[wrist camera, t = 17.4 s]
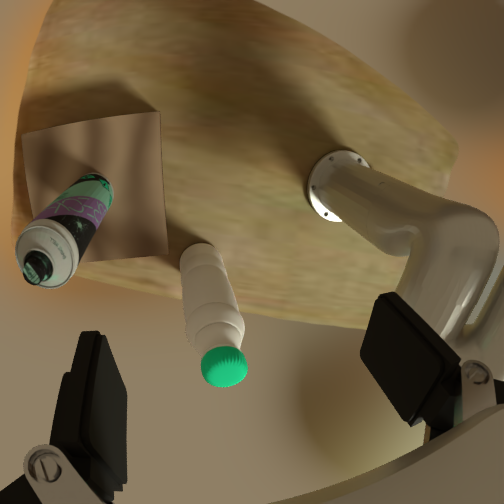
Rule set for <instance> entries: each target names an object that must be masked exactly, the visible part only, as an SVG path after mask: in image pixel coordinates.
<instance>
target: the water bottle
mask: <svg viewBox="0 0 504 504" xmlns="http://www.w3.org/2000/svg"><path fill="white" fill-rule="evenodd" d="M180 272H181V284H182V297H183V309H184V315H185V321H186V336H187V339H188V341H189V343H190V344H191V346H192V347H193V348H194V349H195V350H196V351H197V352H198V353H199V354H200V355H201V356H202V358H201V371H202V375H203V377H204V379H205V380H206V381H207V382H208V383H209V384H211V385H213V386H216V387H228V386H232V385H234V384H237V383H239V382H240V381H242V379H243V378H244V377H245V376H246V373H247V370H248V367H247V362H246V359H245V357H244V355H243V353H242V351H241V350H240V346H241V341H242V339H243V336H244V331H245V325H244V321H243V318H242V316H241V314H240V313H239V309H238V305H237V302H236V298H235V295H234V292H233V290H232V287H231V285H230V282H229V280H228V277H227V272H226V269H225V267H224V264H223V260H222V257H221V254H220V253H219V251H218V250H217V249H216V248H215V247H213V246H212V245H209V244H205V243H198V244H194V245H192V246H190V247H188V248H187V249H186V250H185V251H184V252H183V254H182V255H181V258H180Z"/></svg>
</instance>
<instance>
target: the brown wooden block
mask: <svg viewBox="0 0 504 504" xmlns="http://www.w3.org/2000/svg"><path fill="white" fill-rule="evenodd" d="M21 138H22V149H23V158H24V166H25V174H26V181H27V187H28V193H29V199H30V204H31V209H32V214H33V219H34V218H35V217H37V216H38V215H39V214H40V213H41V212H42V211H43V210H44V209H45V208H46V207H47V206H48V205H49V204H51V203H52V202H53V201H54V200H55V199H56V198H57V197H58V196H59V195H61V194H62V193H63V192H64V191H65V190H66V189H68V188H69V187H70V186H71V185H72V184H73V183H75V182H76V181H77V180H78V179H80V178H81V177H82V176H84V175H86V174H88V173H99V174H102V175H104V176H105V177H106V178H108V180H109V181H110V182H111V184H112V186H113V190H114V198H113V201H112V204H111V206H110V208H109V209H108V211H107V213H106V214H105V216H104V218H103V220H102V221H101V223H100V225H99V227H98V228H97V230H96V232H95V234H94V236H93V238H92V239H91V241H90V243H89V245H88V247H87V249H86V251H85V253H84V255H83V257H82V258H81V260H80V262H79V263H83V262H94V261H104V260H114V259H125V258H136V257H146V256H157V255H168V254H169V248H168V238H167V224H166V213H165V200H164V186H163V170H162V150H161V120H160V111H158V112H147V113H137V114H128V115H120V116H113V117H106V118H99V119H93V120H87V121H81V122H76V123H70V124H65V125H60V126H55V127H51V128H46V129H42V130H38V131H34V132H30V133H26V134H22V135H21Z"/></svg>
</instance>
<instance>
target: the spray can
mask: <svg viewBox="0 0 504 504" xmlns="http://www.w3.org/2000/svg"><path fill="white" fill-rule="evenodd" d="M113 198H114V190H113V186H112V184H111V182H110V181H109V180H108V178H106V177H105V176H104V175H102V174H99V173H88V174H86V175H84V176H82V177H81V178H80V179H78V180H77V181H76V182H75V183H73V184H72V185H71V186H70V187H69V188H68V189H66V190H65V191H64V192H63V193H62V194H61V195H59V196H58V197H57V198H56V199H55V200H54V201H53V202H52V203H51V204H49V205H48V206H47V207H46V208H45V209H44V210H43V211H42V212H41V213H40V214H39V215H38V216H37V217H35V218H34V219H33V220H32V221H31V222H30V223H29V224H28V225H27V226H26V227H25V228H24V230H23V231H22V233H21V235H20V236H19V237H18V240H17V242H16V247H15V256H16V260H17V264H18V266H19V268H20V270H21V272H22V273H23V276H24V278H25V280H26V281H27V282H28V283H30V284H32V285H37V286H39V287H42V288H46V289H54V288H58V287H61V286H63V285H64V284H66V283H67V281H68V280H69V279H70V278H71V277H72V276H73V274H74V272H75V270H76V268H77V266H78V264H79V262H80V260H81V258H82V257H83V255H84V253H85V251H86V249H87V247H88V245H89V243H90V241H91V239H92V238H93V236H94V234H95V232H96V230H97V228H98V227H99V225H100V223H101V221H102V220H103V218H104V216H105V214H106V213H107V211H108V209H109V208H110V206H111V204H112V201H113Z"/></svg>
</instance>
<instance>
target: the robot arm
mask: <svg viewBox="0 0 504 504" xmlns="http://www.w3.org/2000/svg"><path fill="white" fill-rule="evenodd" d="M329 158H330V159H329ZM312 186H313V187H312ZM307 193H308V198H309V202H310V204H311V206H312V208H313V209H314V210H315V212H316V213H318V214H319V215H320V216H321V217H323V218H324V219H327V220H329V221H334V222H340V221H343V222H344V223H346V224H347V225H348V226H350V227H351V228H352V229H354V230H355V231H356V232H358V233H359V234H360V235H361V236H363V237H364V238H365V239H366V240H368V241H369V242H370V243H372V244H373V245H374V246H376V247H377V248H378V249H379V250H381V251H382V252H384V253H386V254H388V255H391V256H397V257H402V256H409V258H408V261H407V263H406V266H405V270H404V272H403V274H402V277H401V279H400V281H399V284H398V286H397V288H396V290H395V292H388V293H384V294H380V295H379V296H378V299H376V300H375V303H374V307H373V310H372V314H371V317H370V321H369V324H368V327H367V331H366V334H365V337H364V340H363V343H362V347H361V350H360V357H361V359H362V361H363V363H364V364H365V365H366V367H367V368H368V370H369V371H370V373H371V374H372V375H373V377H374V378H375V380H376V381H377V383H378V384H379V386H380V387H381V389H382V390H383V392H384V393H385V394H386V396H387V397H388V399H389V400H390V402H391V403H392V405H393V406H394V408H395V409H396V411H397V412H398V413H399V415H400V417H401V418H402V419H403V421H406V422H408V424H409V425H410V427H412V426H414V425H416V424H418V423H420V422H422V420H424V421H425V422H426V426H425V434H424V442H423V446H420V447H419V448H417V449H415V450H413V451H411V452H409V453H407V454H405V455H403V456H401V457H399V458H397V459H395V460H393V461H391V462H389V463H386V464H384V465H382V466H380V467H378V468H375V469H373V470H371V471H368V472H366V473H363V474H361V475H359V476H356V477H353V478H351V479H348V480H346V481H343V482H340V483H338V484H335V485H332V486H329V487H326V488H323V489H320V490H317V491H313V492H310V493H307V494H303V495H300V496H296V497H293V498H289V499H285V500H281V501H277V502H273V503H269V504H504V266H503V268H502V270H501V272H500V274H499V276H498V278H497V280H496V282H495V284H494V286H493V288H492V290H491V292H490V294H489V296H488V298H487V300H486V302H485V303H484V305H483V307H482V309H481V311H480V313H479V315H478V316H477V318H476V320H475V322H474V323H473V324H465V323H466V322H467V320H468V318H469V316H470V314H471V313H472V311H473V309H474V307H475V305H476V304H477V302H478V300H479V298H480V296H481V294H482V292H483V290H484V288H485V286H486V284H487V282H488V280H489V277H490V275H491V273H492V271H493V268H494V265H495V263H496V259H497V255H498V251H499V233H498V229H497V226H496V225H495V223H494V221H493V220H492V219H491V218H490V217H489V216H488V215H487V214H486V213H484V212H482V211H480V210H479V209H477V208H474V207H472V206H469V205H466V204H463V203H459V202H456V201H452V200H448V199H445V198H442V197H439V196H436V195H433V194H430V193H428V192H425V191H423V190H420V189H418V188H416V187H413V186H411V185H409V184H407V183H404V182H402V181H400V180H397V179H395V178H393V177H390V176H388V175H386V174H383V173H381V172H378V171H376V170H373V169H371V168H370V167H369V165H368V164H367V162H366V161H365V160H364V159H363V157H361V156H360V155H358V154H356V153H354V152H351V151H348V150H337V151H333V152H330V153H328V154H326V155H325V156H323V157H322V158H321V159H320V160H319V161H318V162H317V163H316V164H315V166H314V167H313V169H312V171H311V173H310V176H309V179H308V185H307ZM126 428H127V391H126V388H125V385H124V383H123V381H122V378H121V375H120V373H119V370H118V368H117V365H116V363H115V360H114V357H113V355H112V352H111V349H110V346H109V344H108V341H107V338H106V336H105V335H101V334H100V332H99V331H83V332H81V334H80V337H79V340H78V344H77V348H76V352H75V356H74V359H73V363H72V368H71V372H66V373H65V374H64V375H63V378H62V382H61V386H60V391H59V395H58V400H57V404H56V409H55V414H54V420H53V425H52V430H51V436H50V443H49V445H47V444H44V445H38V446H36V447H34V448H32V449H31V450H30V451H29V452H28V453H27V455H26V457H25V459H24V463H23V467H24V474H23V475H22V476H21V477H19V478H18V479H16V480H15V481H14V482H12V483H11V484H10V485H8V486H7V487H6V488H4V489H3V490H1V491H0V504H114V503H113V502H112V501H113V500H114V491H123V486H122V484H126V483H127V452H126V451H127V450H126V449H127V448H126V446H127V445H126V431H127V429H126Z"/></svg>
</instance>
